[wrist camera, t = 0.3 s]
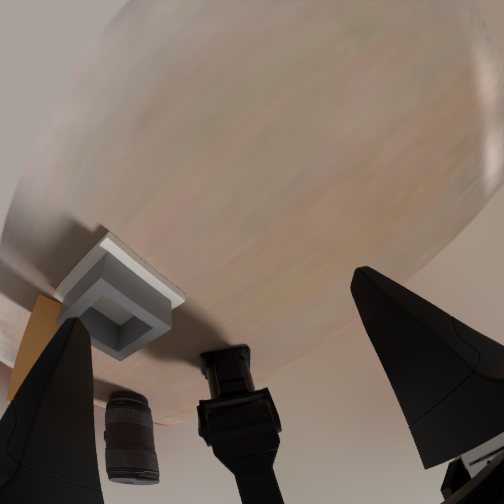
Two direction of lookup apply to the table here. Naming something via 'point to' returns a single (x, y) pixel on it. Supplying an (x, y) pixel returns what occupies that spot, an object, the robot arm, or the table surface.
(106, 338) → the socket
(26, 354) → the plug
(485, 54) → the table surface
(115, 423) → the camera lens
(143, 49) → the table surface
